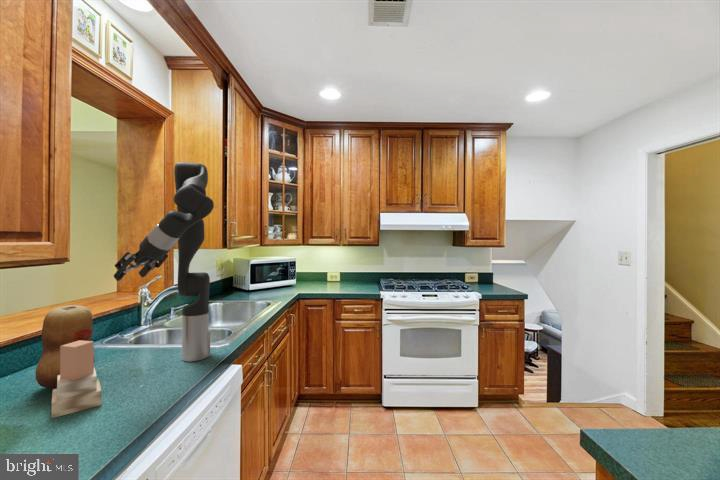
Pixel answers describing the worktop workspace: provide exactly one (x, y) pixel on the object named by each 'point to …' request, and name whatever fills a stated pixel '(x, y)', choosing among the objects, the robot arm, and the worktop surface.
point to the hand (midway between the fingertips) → (129, 276)
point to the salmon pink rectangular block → (76, 360)
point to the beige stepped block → (75, 395)
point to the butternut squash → (61, 339)
